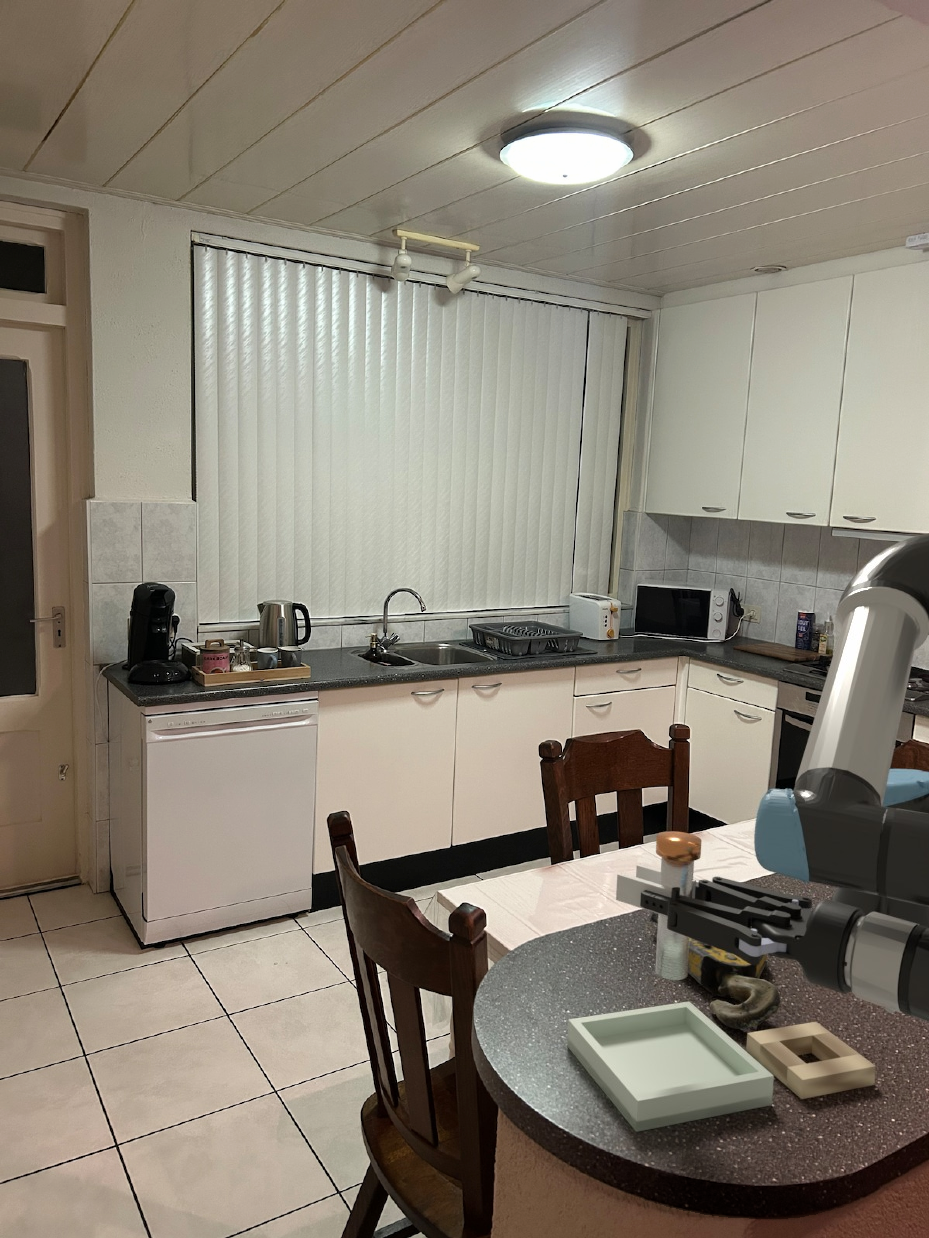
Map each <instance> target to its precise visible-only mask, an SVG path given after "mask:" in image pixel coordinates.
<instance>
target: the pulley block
mask: <svg viewBox="0 0 929 1238" xmlns="http://www.w3.org/2000/svg"><path fill="white" fill-rule="evenodd" d="M649 922H650V923H654V924H658V914H657V913H654V912H650V918H649ZM657 932H658V927H657V928H656V929H655V938H656V939H657ZM767 958H768V954H763V955H761V957H760V964H758V965H752V964H749V963H747V962H746V961H744V960H742V959H741V958H739V957H738V956H736V955H734V954H731V953H729V952H726V951H724V950H721V949H718V948H716V947H713V946H710V945H708V944H705V943H703V942H700V941H697V940H695V939H692V938H690V941H689V959H688V975H690V976H691V977H692V978H694V980H696V982H698V984H699V985H700V986H702V987H703V988H704V989H706V991H707V992H710V993H711V995H712V996H716V997H717V996H719V997H722V998H725V999H735V1000H737V1001H739V1002H741V1003H740V1004H735V1005H734V1004H732V1003H729V1002H727V1001H723V1000H720V999H716V1000H713V1001H711V1002H710V1004H709V1008H710V1009H711V1011H713V1013H714V1014H715V1016H716V1017H717V1019H718V1020H719V1021H720V1022H721V1023H722V1024H723V1025H724V1026H726V1027H728V1028H732V1029H736V1030H737V1029H738V1030H743V1031H746V1030H747V1029H751V1030H752V1032H756V1031H757V1029H758V1026H759V1025H761V1024H762V1023H764V1022H765V1021H767V1019H769V1018H770V1017H772V1016H773V1015H774V1014H777V1013H778V1010H779V1008H780V1007H781V1005H780V1003H781V997H780V991H778V989H777V987H776V986H775V985H774V984H773V983H771V982H769V981H767V980H765V979H760V977H761V975H762V973H763V971H764V969H765V967H766V966H767V964H768V962H767Z"/></svg>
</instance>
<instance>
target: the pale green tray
mask: <svg viewBox="0 0 929 1238" xmlns="http://www.w3.org/2000/svg"><path fill="white" fill-rule="evenodd" d="M567 1022H568V1023H567V1040H566V1041H567V1042H566V1047H568V1049H569V1050H570V1051H571V1053H572V1054H573V1056H574V1057H575V1058H576V1059H577V1060H578V1061H579V1063H580V1064H581V1065H582V1066H583V1068H584V1069H585V1070H586V1071H587V1073H588V1074H589V1075H590V1077H592V1079H593V1080H594V1082H595V1083H596V1084H597V1085H598V1087H600V1089H601V1090H602V1091H603V1092H604V1094H605V1095H606V1097H608V1099H609V1100H610V1102H612V1104H613V1105H614V1106H615V1107H616V1109H617V1110H618V1111H619V1113H620V1114H621V1115H622V1116H623V1118H624V1119H625V1120H626V1121H627V1123H628V1124H629V1125H630V1126H631V1128H632V1129H633V1131H635V1132H636V1133H637V1132H642V1131H648V1130H651V1129H657V1128H663V1127H667V1126H673V1125H677V1124H678V1125H679V1124H682V1123H688V1122H693V1121H698V1120H702V1119H708V1118H713V1117H718V1116H723V1115H728V1114H732V1113H733V1114H734V1113H739V1112H744V1111H748V1110H753V1109H759V1108H763V1107H768V1106H769V1107H770V1106H772V1105H773V1096H774V1095H773V1094H774V1079H775V1076H774V1075H773V1074H772V1073H771V1072H770V1071H769V1070H768V1069H767V1068H765V1067H764V1066H763V1065H762V1064H761V1063H760V1062H759V1061H757V1060H756V1059H755V1058H754V1057H753V1056H752V1055H751V1054H749V1053H748V1052H747V1051H746V1049H744V1048H743V1047H741V1045H740V1044H738V1043H737V1041H735V1040H734V1039H732V1038H731V1037H730V1036H729V1035H728V1034H727V1033H726V1032H725V1031H724V1030H722V1028H720V1027H719V1026H718V1025H716V1023H715V1022H713V1021H712V1019H710V1018H709V1017H708V1016H706V1015H705V1014H704V1013H703V1012H702V1011H700V1009H699V1008H698V1007H696V1006H695V1005H694V1004H693V1003H691V1002H690V1001H683V1002H676V1003H670V1004H663V1005H655V1006H649V1007H643V1008H636V1009H631V1010H623V1011H615V1012H610V1013H602V1014H595V1015H589V1016H584V1017H576V1018H570V1019H569V1018H568V1021H567Z"/></svg>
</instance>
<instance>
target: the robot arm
mask: <svg viewBox="0 0 929 1238" xmlns="http://www.w3.org/2000/svg"><path fill="white" fill-rule="evenodd" d="M834 620H835V621H834V622H835V627H836V630H837V632H838V633H839V634H838V635H839V636H838V639H837V642H836V646H835V647H834V648H835V649H834V652H833V655H832V658H831V662H830V666H829V668H828V672H827V675H826V678H825V682H824V685H823V688H822V692H821V696H820V699H819V703H818V704H817V705H818V706H817V708H816V712H815V716H814V719H813V723H812V725H811V729H810V731H809V735H808V738H807V743H806V746H805V750H804V751H803V756H802V759H801V763H800V766H799V769H798V771H797V772H798V773H797V776H796V779H795V783H794V784H795V785H794V788H793V789H792V788H788V787H787V788H785V789H783V788H782V789H780V788H770V789H768V790H767V791H766V793H765V794H764V795H763V796H762V798H761V800H760V802H759V806H758V808H757V813H756V818H755V824H754V834H753V835H754V836H753V837H754V838H753V844H754V854H755V857H756V860H757V862H758V864H759V866H761V867H762V868H763V869H765V870H766V871H768V872H771V873H775V874H778V875H780V876H781V875H782V876H784V877H788V878H792V879H795V880H798V881H802V882H803V883H807V884H808V883H815V884H820V885H824V886H829V887H835V889H834V892H833V896H832V898H830V899H822V900H820V901H819V902H818V903H817V904H816V905H815V906H814V907H813V898H811V897H808V896H803V895H794V894H789V893H784V892H780V891H777V890H776V891H775V890H772V889H769V888H764V887H760V886H756V885H752V884H749V883H745V882H741V881H737V880H732V879H728V878H725V877H721V876H714V877H712V879H711V881H710V880H708V879H699V880H698V881H697V880H696V879H694V878H693V889H692V898H690V897H686V896H682V895H680V888H679V887H673V888H669V887H666V886H663V885H660V877H661V868H656V867H652V866H649V865H645V864H643V863H639V864H636V870H635V871H636V872H635V873H636V875H635V876H633V875H630V874H626V873H623V872H619V873H618V874H617V875H616V891H615V900H616V901H617V902H622V903H624V904H626V905H627V904H628V905H631V906H633V907H636V908H639V909H643V910H645V911H649V912H650V913H653V912H654V913H657V914H660V915H663V916H666V917H667V929H669V930H671V931H674V932H676V933H679V934H682V935H684V936H687V937H689V938H692V939H695V940H697V941H700V942H703V943H705V944H708V945H710V946H713V947H716V948H718V949H721V950H724V951H726V952H729V953H731V954H734V955H736V956H738V957H739V958H741V959H742V960H744V961H746V962H747V963H749V964H752V965H758V964H760V957H761V955H763V954H767V955H769V956H771V957H774V958H779V959H785V960H792V961H796V962H797V963H798V964H799V965H800V967H801V969H802V973H803V975H804V977H805V979H806V980H807V981H808V982H810V983H811V984H814V985H816V986H819V987H822V988H824V989H825V988H826V989H828V990H831V991H834V992H836V993H837V992H838V993H841V994H843V995H845V994H848V993H851V992H852V993H853V995H854V996H855V998H857V999H859V1000H863V1001H865V1002H869V1003H870V1004H871V1003H872V1004H875V1005H877V1006H880V1007H883V1008H884V1011H885V1012H887V1013H889V1014H894V1013H896V1012H897V1013H901V1014H903V1015H906V1016H910V1017H912V1018H914V1019H915V1018H916V1019H918V1020H921V1021H925V1022H927V1023H929V771H924V770H922V769H921V770H920V769H912V768H911V769H910V768H909V769H908V768H891V765H892V761H893V756H894V751H895V746H896V741H897V736H898V732H899V727H900V722H901V718H902V713H903V708H904V703H905V697H906V693H907V688H908V685H909V679H910V675H911V669H912V666H913V665H912V664H913V659H914V655H915V651H916V650H918V649H919V648H920V647H921V646H922V645H923V644H924V643H925V642H926V640H927V638H928V637H929V533H924V534H919V535H918V534H917V535H914V536H911V537H909V538H906V539H903V540H900V541H899V542H897V543H894V544H893V545H891V546H889V547H887V548H885V549H883V550H882V551H881V552H880V553H878V554H876V555H875V556H874V557H872V558H871V559H870V560H869V561H868V562H866V563H864V565H863V566H862V567H861V568H860V569H859V570H857V572H856V573H855V574H854V575H853V576H852V578H851V579H850V581H848V583H847V586H846V587H845V588H844V590H843V592H842V594H841V596H840V599H839V602H838V605H837V608H836V612H835V618H834Z"/></svg>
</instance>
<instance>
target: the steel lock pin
mask: <svg viewBox="0 0 929 1238" xmlns="http://www.w3.org/2000/svg"><path fill="white" fill-rule="evenodd" d="M655 842H656V844H655V853H656V854H657V855H658V856H659V857H661V859H660V861H661V863H660V870H661V877H660V885H663V886H666V887H669V888H673V887H679V888H680V895H682V896H686V897H690V898H692V889H693V879H694V871H695V869H694V868H695V861H698V860H700V858H701V857H702V856H701V853H702V838H700V837H699V836H698V835H695V834H693V833H687V832H682V831H675V830H674V831H663V832H659V833H658V834H657V835H656V841H655ZM657 928H658V932H657V938H656V951H655V952H656V953H655V955H656V956H655V973H656V975H657V976H659V977H661V978H663V979H666V980H671V981H679V980H681V981H682V980H684V979H686V978H687V977H688V975H689V973H688V959H689V941H690V938H689V937H687V936H684V935H682V934H679V933H676V932H674V931H671V930H669V929H667V917H666V916H663V915H660V914H658V923H657Z"/></svg>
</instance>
